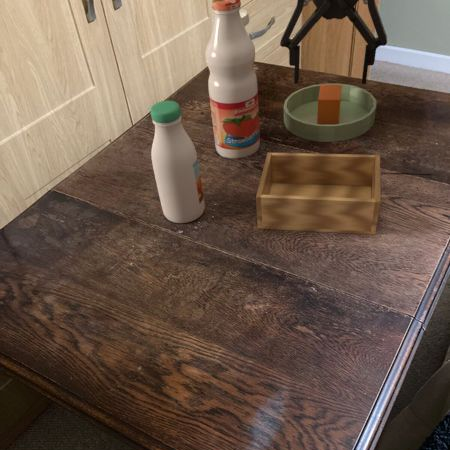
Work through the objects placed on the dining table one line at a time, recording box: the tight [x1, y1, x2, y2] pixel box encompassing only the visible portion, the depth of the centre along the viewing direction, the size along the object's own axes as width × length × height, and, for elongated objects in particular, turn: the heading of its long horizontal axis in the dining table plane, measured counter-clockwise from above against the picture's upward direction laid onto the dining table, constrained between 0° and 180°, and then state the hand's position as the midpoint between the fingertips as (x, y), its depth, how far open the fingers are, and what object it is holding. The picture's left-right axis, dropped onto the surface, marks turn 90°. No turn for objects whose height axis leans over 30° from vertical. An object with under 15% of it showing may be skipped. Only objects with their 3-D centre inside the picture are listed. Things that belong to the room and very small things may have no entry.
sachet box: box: [317, 83, 343, 125], centre depth 105 cm, size 4×7×6 cm, turn 169°
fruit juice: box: [204, 0, 261, 159], centre depth 93 cm, size 9×9×28 cm
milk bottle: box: [150, 100, 206, 224], centre depth 83 cm, size 8×8×20 cm
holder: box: [255, 151, 382, 236], centre depth 85 cm, size 20×14×7 cm
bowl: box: [283, 82, 377, 143], centre depth 106 cm, size 19×19×4 cm
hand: (329, 81), depth 101 cm, fingers open, 13 cm apart
